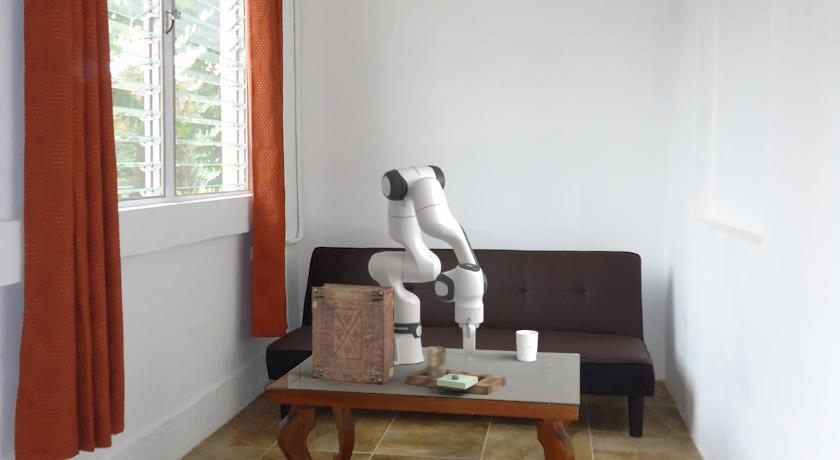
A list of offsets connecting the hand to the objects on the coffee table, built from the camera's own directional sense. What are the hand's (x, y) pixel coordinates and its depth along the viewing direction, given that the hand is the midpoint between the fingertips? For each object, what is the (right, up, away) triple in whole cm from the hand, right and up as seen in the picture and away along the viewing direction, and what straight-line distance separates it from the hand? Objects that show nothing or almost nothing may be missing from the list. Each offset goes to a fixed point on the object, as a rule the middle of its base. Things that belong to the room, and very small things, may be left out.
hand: (468, 359), depth 268 cm
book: (-37, -8, +12) cm, 40 cm away
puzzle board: (-4, -8, +4) cm, 10 cm away
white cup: (+23, -6, +39) cm, 46 cm away
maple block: (-10, -8, +7) cm, 15 cm away
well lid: (-4, -6, -7) cm, 10 cm away
